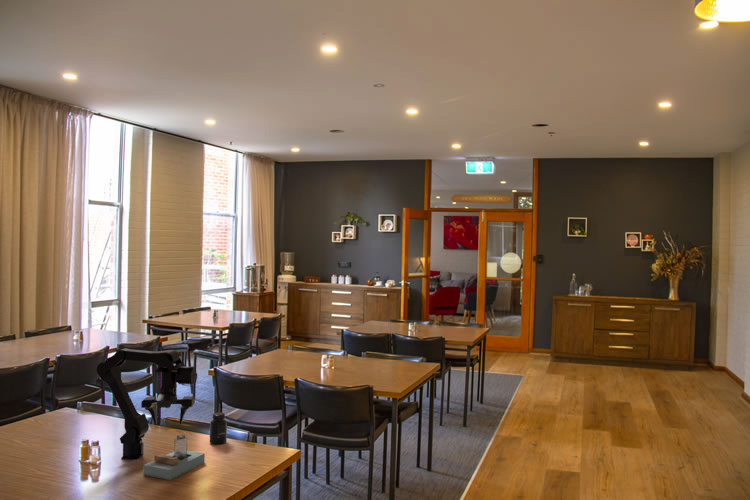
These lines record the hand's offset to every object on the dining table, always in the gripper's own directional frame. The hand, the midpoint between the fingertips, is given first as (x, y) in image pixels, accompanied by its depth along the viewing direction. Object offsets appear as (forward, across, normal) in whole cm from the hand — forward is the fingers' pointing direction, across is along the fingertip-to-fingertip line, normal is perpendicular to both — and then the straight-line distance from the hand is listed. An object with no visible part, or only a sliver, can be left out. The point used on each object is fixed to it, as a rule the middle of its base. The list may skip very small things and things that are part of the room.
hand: (168, 424), depth 217 cm
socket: (+13, +5, -11) cm, 18 cm away
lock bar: (+9, +3, -15) cm, 18 cm away
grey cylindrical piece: (+12, +6, -8) cm, 16 cm away
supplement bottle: (+13, +16, +17) cm, 27 cm away
